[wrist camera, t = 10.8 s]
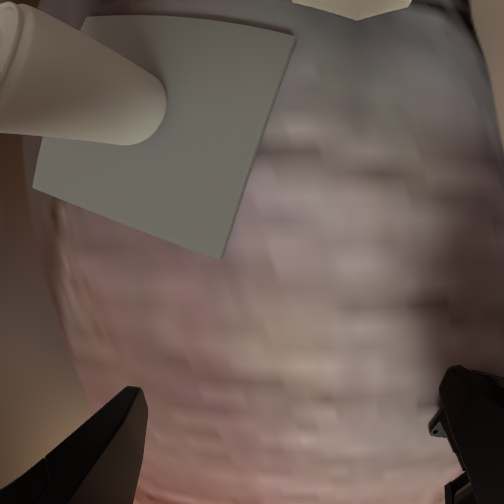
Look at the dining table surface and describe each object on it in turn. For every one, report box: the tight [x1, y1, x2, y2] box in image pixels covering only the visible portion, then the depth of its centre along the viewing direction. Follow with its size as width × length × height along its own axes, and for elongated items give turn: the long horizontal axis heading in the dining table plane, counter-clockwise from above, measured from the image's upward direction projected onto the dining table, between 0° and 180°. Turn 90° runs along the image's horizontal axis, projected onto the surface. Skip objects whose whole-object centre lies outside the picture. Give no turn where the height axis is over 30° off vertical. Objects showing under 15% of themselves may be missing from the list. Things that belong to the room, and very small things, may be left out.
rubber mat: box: [32, 15, 296, 261], centre depth 17 cm, size 16×14×1 cm
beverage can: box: [0, 2, 167, 145], centre depth 11 cm, size 5×5×12 cm
